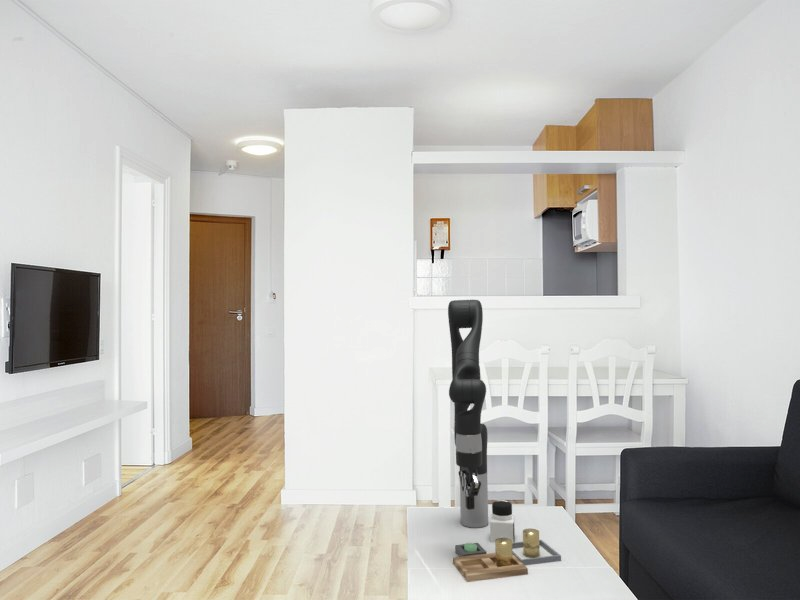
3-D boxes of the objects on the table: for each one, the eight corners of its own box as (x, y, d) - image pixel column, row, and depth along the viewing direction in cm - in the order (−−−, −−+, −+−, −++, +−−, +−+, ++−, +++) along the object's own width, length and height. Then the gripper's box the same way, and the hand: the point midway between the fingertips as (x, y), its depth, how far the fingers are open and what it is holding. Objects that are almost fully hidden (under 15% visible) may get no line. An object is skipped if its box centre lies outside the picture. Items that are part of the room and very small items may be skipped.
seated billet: (493, 564, 169) (492, 538, 169) (508, 562, 170) (508, 537, 170) (499, 571, 164) (499, 545, 164) (515, 569, 165) (514, 543, 165)
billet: (520, 553, 176) (520, 529, 177) (535, 551, 178) (534, 527, 178) (527, 559, 172) (527, 535, 172) (542, 558, 173) (541, 533, 173)
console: (455, 555, 177) (455, 545, 177) (477, 552, 179) (477, 542, 179) (463, 565, 171) (463, 554, 171) (486, 562, 172) (486, 551, 172)
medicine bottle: (514, 546, 184) (513, 506, 184) (490, 544, 185) (489, 505, 185) (514, 537, 190) (513, 499, 191) (491, 536, 192) (490, 497, 192)
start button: (462, 554, 176) (462, 543, 176) (474, 553, 177) (474, 542, 177) (466, 559, 173) (466, 548, 173) (478, 558, 173) (478, 547, 173)
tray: (503, 552, 179) (503, 543, 179) (541, 547, 182) (541, 539, 182) (520, 569, 167) (520, 560, 167) (561, 564, 170) (561, 555, 170)
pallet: (453, 566, 170) (452, 557, 170) (509, 559, 174) (509, 550, 174) (467, 585, 158) (467, 575, 158) (527, 577, 162) (527, 568, 162)
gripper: (449, 444, 181) (450, 502, 181) (464, 455, 168) (465, 517, 168) (473, 442, 182) (474, 500, 182) (489, 453, 170) (490, 515, 170)
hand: (470, 508), depth 175 cm, fingers closed
